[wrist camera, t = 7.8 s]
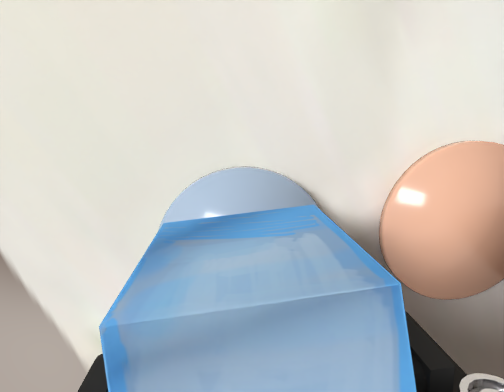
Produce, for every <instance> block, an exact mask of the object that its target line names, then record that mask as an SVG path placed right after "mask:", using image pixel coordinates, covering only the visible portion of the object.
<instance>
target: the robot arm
mask: <svg viewBox="0 0 504 392" xmlns="http://www.w3.org/2000/svg"><path fill="white" fill-rule="evenodd" d="M405 316H406V322H407V329H408V336H409V343H410V350H411V357H412V364H413V371H414V377H415V384H416V391H417V392H504V379H502V378H500V377H497V376H493V375H489V374H482V373H474V374H470V375H467V374H466V373H465V372H464V371H463V370H462V369H461V368H460V367H459V366H458V365H457V364H456V363H455V362H454V361H453V360H452V359H451V358H450V357H449V356H448V355H447V354H446V353H445V352H444V350H443V349H442V348H441V347H440V346H439V345H438V344H437V343H436V342H435V341H434V340H433V339H432V338H431V337H430V336H429V335H428V334H427V333H426V332H425V331H424V330H423V329H422V328H421V327H420V326H419V324H418V323H417V322H416V321H415V320H414V319H413V318H412V317H411V316H410V315H409V314H408V313H407V312H405ZM78 392H108V386H107V379H106V372H105V364H104V357H103V354H101V355H99V356H98V357H97V358H96V359H95V361H94V363H93V365H92V366H91V368H90V370H89V372H88V374H87V376H86V377H85V379H84V381H83V383H82V385H81V386H80V388H79V390H78Z"/></svg>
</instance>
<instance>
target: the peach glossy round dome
mask: <svg viewBox="0 0 504 392" xmlns="http://www.w3.org/2000/svg"><path fill="white" fill-rule="evenodd" d="M379 240H380V246H381V251H382V254H383V257H384V260H385V261H386V263H387V265H388V267H389V268H390V270H391V271H392V272H393V274H394V275H395V276H396V277H397V278H398V279H399V280H400V281H402V282H403V283H404V284H405V285H406V286H407V287H409V288H410V289H412V290H413V291H415V292H417V293H419V294H421V295H424V296H427V297H430V298H436V299H459V298H464V297H469V296H472V295H475V294H478V293H480V292H483V291H485V290H487V289H489V288H491V287H492V286H494V285H496V284H497V283H499V282H500V281H501V280H503V279H504V145H502V144H498V143H494V142H484V141H461V142H456V143H451V144H448V145H445V146H442V147H440V148H437V149H435V150H433V151H431V152H429V153H428V154H426V155H424V156H423V157H421V158H420V159H419V160H417V161H416V162H415V163H414V164H412V165H411V166H410V167H409V168H408V169H407V170H406V171H405V172H404V173H403V174H402V176H401V177H400V178H399V179H398V181H397V182H396V183H395V185H394V187H393V188H392V190H391V191H390V193H389V195H388V198H387V200H386V202H385V205H384V208H383V210H382V214H381V219H380V227H379Z"/></svg>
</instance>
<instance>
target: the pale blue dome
mask: <svg viewBox="0 0 504 392" xmlns="http://www.w3.org/2000/svg"><path fill="white" fill-rule="evenodd" d="M306 205H315V206H316V207H317V208H319V207H318V206H317V204H316V203H315V201H314V200H313V199H312V198H311V196H310V195H309V194H308V193H307V192H306V191H304V190H303V189H302V188H301V187H300V186H299V185H298V184H296V183H295V182H293V181H292V180H291V179H289V178H287V177H285V176H283V175H281V174H279V173H276V172H274V171H271V170H267V169H263V168H258V167H232V168H226V169H222V170H219V171H215V172H212V173H210V174H208V175H206V176H203V177H201V178H200V179H198V180H196V181H195V182H193V183H192V184H190V185H189V186H188V187H187V188H186V189H185V190H183V191H182V192H181V193H180V194H179V196H178V197H177V198H176V199H175V200H174V201H173V203H172V204H171V206H170V207H169V209H168V210H167V212H166V214H165V216H164V218H163V220H162V222H161V224H160V227H159V229H160V228H161V226H162V225H163V223H168V222H176V221H184V220H192V219H201V218H209V217H217V216H225V215H233V214H241V213H249V212H257V211H265V210H274V209H282V208H290V207H298V206H306ZM158 231H159V230H158Z"/></svg>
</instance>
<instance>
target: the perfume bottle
mask: <svg viewBox="0 0 504 392" xmlns="http://www.w3.org/2000/svg"><path fill="white" fill-rule="evenodd" d="M99 329H100V336H101V343H102V350H103V357H104V364H105V372H106V379H107V386H108V392H417V391H416V384H415V377H414V371H413V364H412V357H411V350H410V343H409V336H408V329H407V322H406V316H405V309H404V302H403V295H402V288H401V283H400V282H399V281H398V280H397V279H395V278H394V277H393V276H392V275H391V274H390V273H389V272H388V271H387V270H386V269H384V268H383V267H382V266H381V265H380V264H379V263H378V262H377V261H376V260H375V259H373V258H372V257H371V256H370V255H369V254H368V253H367V252H366V251H365V250H364V249H362V248H361V247H360V246H359V245H358V244H357V243H356V242H355V241H354V240H353V239H351V238H350V237H349V236H348V235H347V234H346V233H345V232H344V231H343V230H342V229H340V228H339V227H338V226H337V225H336V224H335V223H334V222H333V221H332V220H331V219H330V218H328V217H327V216H326V215H325V214H324V213H323V212H322V211H321V210H320V209H319V208H317V207H316V206H315V205H306V206H298V207H290V208H282V209H274V210H265V211H257V212H249V213H241V214H233V215H225V216H217V217H209V218H201V219H192V220H184V221H176V222H168V223H163V225H162V226H161V228H160V229H159V231H158V233H157V234H156V236H155V238H154V239H153V241H152V242H151V244H150V246H149V247H148V249H147V250H146V252H145V254H144V255H143V257H142V258H141V260H140V262H139V263H138V265H137V266H136V268H135V270H134V271H133V273H132V274H131V276H130V278H129V279H128V281H127V283H126V284H125V286H124V287H123V289H122V291H121V292H120V294H119V295H118V297H117V299H116V300H115V302H114V303H113V305H112V307H111V308H110V310H109V311H108V313H107V315H106V316H105V318H104V319H103V321H102V323H101V324H100V326H99Z"/></svg>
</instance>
